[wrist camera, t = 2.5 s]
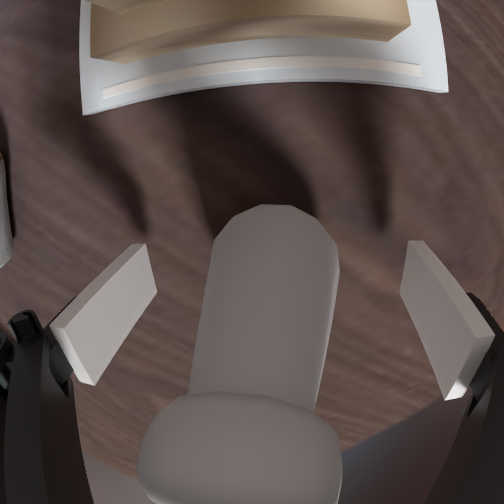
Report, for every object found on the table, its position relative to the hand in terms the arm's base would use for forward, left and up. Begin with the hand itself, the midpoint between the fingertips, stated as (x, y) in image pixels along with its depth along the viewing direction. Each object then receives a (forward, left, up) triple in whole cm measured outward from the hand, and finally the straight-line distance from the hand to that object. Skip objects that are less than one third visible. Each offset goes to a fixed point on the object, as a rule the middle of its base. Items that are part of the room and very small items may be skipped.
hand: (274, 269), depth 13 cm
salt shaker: (0, 0, -3) cm, 3 cm away
